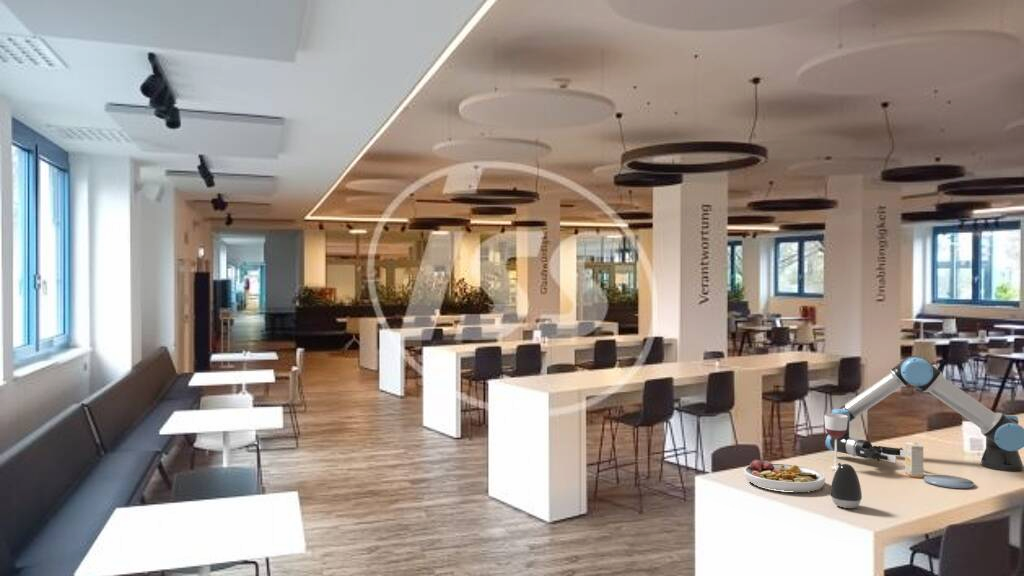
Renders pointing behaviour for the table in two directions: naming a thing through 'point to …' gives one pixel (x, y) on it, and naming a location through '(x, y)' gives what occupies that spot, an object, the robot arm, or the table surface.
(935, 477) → the dish
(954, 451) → the table surface
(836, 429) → the wineglass
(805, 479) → the bowl
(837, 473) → the black egg-shaped piece
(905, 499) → the table surface
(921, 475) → the supplement box
